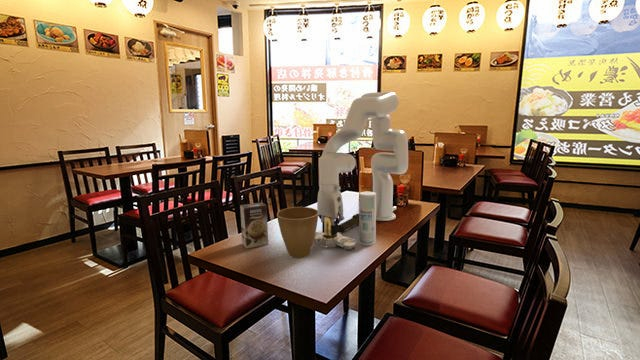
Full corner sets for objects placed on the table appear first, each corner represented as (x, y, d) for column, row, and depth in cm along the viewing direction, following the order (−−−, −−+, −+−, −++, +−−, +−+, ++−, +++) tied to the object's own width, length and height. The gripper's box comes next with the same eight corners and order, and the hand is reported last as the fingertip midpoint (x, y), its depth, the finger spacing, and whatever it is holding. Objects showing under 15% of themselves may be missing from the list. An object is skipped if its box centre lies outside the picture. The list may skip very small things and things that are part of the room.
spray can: (377, 240, 141) (377, 191, 137) (374, 246, 135) (374, 195, 131) (361, 238, 143) (361, 190, 140) (357, 244, 137) (357, 194, 134)
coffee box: (246, 249, 135) (243, 208, 132) (241, 243, 141) (239, 204, 138) (269, 244, 140) (267, 205, 137) (263, 239, 145) (261, 201, 142)
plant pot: (275, 249, 134) (273, 209, 131) (313, 244, 138) (312, 205, 135) (282, 265, 120) (280, 220, 117) (324, 259, 124) (323, 215, 121)
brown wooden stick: (343, 234, 150) (343, 224, 149) (335, 232, 152) (335, 222, 151) (365, 223, 165) (366, 213, 164) (358, 221, 167) (358, 212, 166)
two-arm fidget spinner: (316, 233, 151) (315, 226, 151) (361, 246, 135) (361, 239, 134) (300, 239, 145) (300, 232, 144) (346, 253, 128) (346, 246, 128)
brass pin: (329, 238, 142) (329, 214, 140) (336, 240, 139) (336, 216, 138) (322, 241, 139) (322, 216, 138) (329, 243, 137) (329, 218, 135)
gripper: (352, 188, 133) (352, 235, 136) (320, 183, 144) (321, 226, 147) (339, 192, 127) (340, 240, 131) (307, 186, 139) (308, 231, 142)
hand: (330, 232), depth 139 cm, fingers closed on brass pin, 3 cm apart
